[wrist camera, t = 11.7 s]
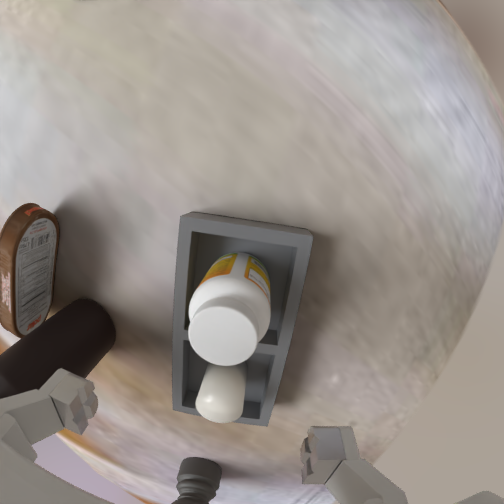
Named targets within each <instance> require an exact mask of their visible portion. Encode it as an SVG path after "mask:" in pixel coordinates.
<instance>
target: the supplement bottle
mask: <svg viewBox="0 0 504 504" xmlns="http://www.w3.org/2000/svg"><path fill="white" fill-rule="evenodd" d="M270 317H271V307H270V279H269V274H268V272H267V270H266V268H265V266H264V265H263V264H262V262H261V261H260V260H258V259H257V258H256V257H254V256H252V255H250V254H247V253H242V252H234V253H229V254H226V255H224V256H222V257H220V258H219V259H218V260H216V261H215V262H214V264H213V265H212V266H211V268H210V269H209V271H208V272H207V274H206V275H205V277H204V278H203V280H202V281H201V283H200V284H199V286H198V288H197V289H196V291H195V292H194V294H193V296H192V298H191V301H190V305H189V319H190V325H189V330H188V335H189V341H190V344H191V346H192V347H193V349H194V350H195V352H196V353H197V354H198V355H199V356H200V357H202V358H203V359H205V360H206V361H208V362H210V363H213V364H216V365H222V366H231V365H236V364H239V363H242V362H244V361H245V360H247V359H248V358H249V357H250V356H251V355H252V354H253V353H254V351H255V349H256V347H257V344H258V342H259V341H260V340H261V339H262V338H263V337H264V335H265V334H266V332H267V330H268V327H269V324H270Z"/></svg>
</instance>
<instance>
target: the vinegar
mask: <svg viewBox="0 0 504 504" xmlns="http://www.w3.org/2000/svg"><path fill="white" fill-rule="evenodd" d="M114 341H115V328H114V325H113V322H112V320H111V319H110V317H109V315H108V314H107V312H106V311H105V310H104V309H103V308H102V307H101V306H100V305H98V304H97V303H96V302H94V301H91V300H89V299H78V300H76V301H73V302H72V303H70V304H69V305H68V306H66V307H65V308H63V309H62V310H60V311H59V312H58V313H56V314H55V315H53V316H52V317H50V318H49V319H48V320H46V321H45V322H43V323H42V324H41V325H39V326H38V327H37V328H35V329H34V330H33V331H31V332H30V333H28V334H27V335H26V336H24V337H23V338H22V339H20V340H19V341H18V342H16V343H15V344H14V345H13V346H11V347H10V348H9V349H7V350H6V351H5V352H3V353H2V354H1V355H0V399H3V398H6V397H10V396H14V395H17V394H21V393H24V392H28V391H31V390H34V389H37V390H39V389H40V388H41V387H42V386H43V385H44V384H45V383H46V382H47V381H48V379H49V378H50V377H51V376H52V375H53V374H54V373H55V372H56V371H57V370H58V369H61V368H62V369H64V370H66V371H69V372H71V373H73V374H75V375H78V376H80V377H82V378H86V377H87V375H88V374H89V373H90V372H91V371H92V370H93V368H94V367H95V366H96V365H97V364H98V363H99V361H100V360H101V359H102V358H103V357H104V356H105V354H106V353H107V352H108V351H109V350H110V349H111V348H112V346H113V344H114Z"/></svg>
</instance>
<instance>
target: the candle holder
mask: <svg viewBox="0 0 504 504" xmlns="http://www.w3.org/2000/svg"><path fill="white" fill-rule="evenodd" d="M220 478H221V468H220V467H219V465H218V464H216V463H214V462H212V461H210V460H207V459H204V458H197V457H192V458H186V459H184V460H183V461H182V463H181V466H180V470H179V473H178V476H177V480H178V484H177V486H176V487H177V490H178V492H179V494H180V496H179V497H178V500H176V501H174V502H173V503H172V504H209V501H210V500H211V499H213V498H214V497H215V496H216V492H215V491H216V490H217V489H219V484H220Z"/></svg>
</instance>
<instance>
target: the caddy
mask: <svg viewBox="0 0 504 504" xmlns="http://www.w3.org/2000/svg"><path fill="white" fill-rule="evenodd" d="M312 242H313V235H312V234H311V233H310V232H309V231H308V229H304V228H298V227H292V226H285V225H279V224H273V223H267V222H260V221H254V220H247V219H241V218H234V217H227V216H220V215H213V214H206V213H199V212H190V213H187V214H185V215H182V216H180V225H179V235H178V247H177V259H176V273H175V289H174V309H173V341H172V398H173V410H175V411H179V412H184V413H188V414H193V415H197V416H202V415H201V414H200V413H199V412H198V411H197V409H196V399H197V396H198V393H199V390H200V387H201V384H202V381H203V378H204V375H205V372H206V369H207V366H208V363H209V362H208V361H206V360H205V359H203V358H202V357H200V356H199V355H198V354H197V353H196V352H195V350H194V349H193V347H192V346H191V344H190V341H189V335H188V330H189V325H190V319H189V305H190V301H191V298H192V296H193V294H194V292H195V291H196V289H197V288H198V286H199V284H200V283H201V281H202V280H203V278H204V277H205V275H206V274H207V272H208V271H209V269H210V268H211V266H212V265H213V264H214V262H215V261H216V260H218V259H219V258H220V257H222V256H224V255H226V254H229V253H234V252H242V253H247V254H250V255H252V256H254V257H256V258H257V259H258V260H260V261H261V262H262V264H263V265H264V266H265V268H266V270H267V272H268V274H269V279H270V307H271V317H270V324H269V327H268V330H267V332H266V334H265V335H264V337H263V338H262V339H261V340H260V341H259V342H258V344H257V347H256V349H255V351H254V353H253V354H252V355H251V356H250V357H249V358H248V359H247V360H245V362H246V364H247V367H248V371H247V379H246V388H245V396H244V404H243V412H242V415H241V416H240V417H239V418H238V419H237V420H235V421H233V422H236V423H243V424H250V425H259V426H268V423H269V419H270V416H271V413H272V409H273V406H274V402H275V399H276V395H277V392H278V388H279V384H280V381H281V377H282V373H283V369H284V366H285V362H286V358H287V354H288V350H289V346H290V342H291V338H292V334H293V330H294V326H295V321H296V317H297V313H298V308H299V304H300V300H301V295H302V291H303V286H304V281H305V277H306V272H307V267H308V262H309V257H310V252H311V247H312ZM202 417H203V416H202Z"/></svg>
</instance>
